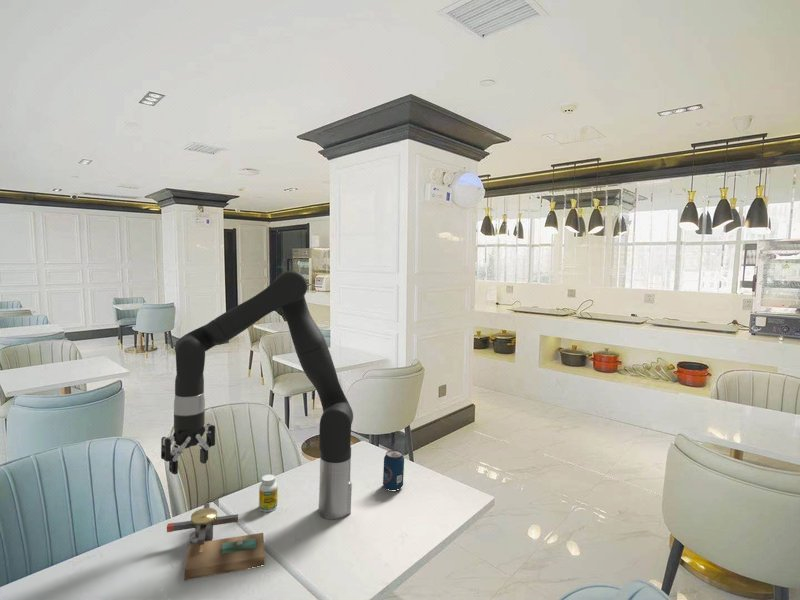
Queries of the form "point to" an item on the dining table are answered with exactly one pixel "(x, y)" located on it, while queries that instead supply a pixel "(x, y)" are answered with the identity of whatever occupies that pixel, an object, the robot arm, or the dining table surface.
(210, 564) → the stand
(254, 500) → the dining table surface
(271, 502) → the supplement bottle
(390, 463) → the soda can
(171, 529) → the capstan
